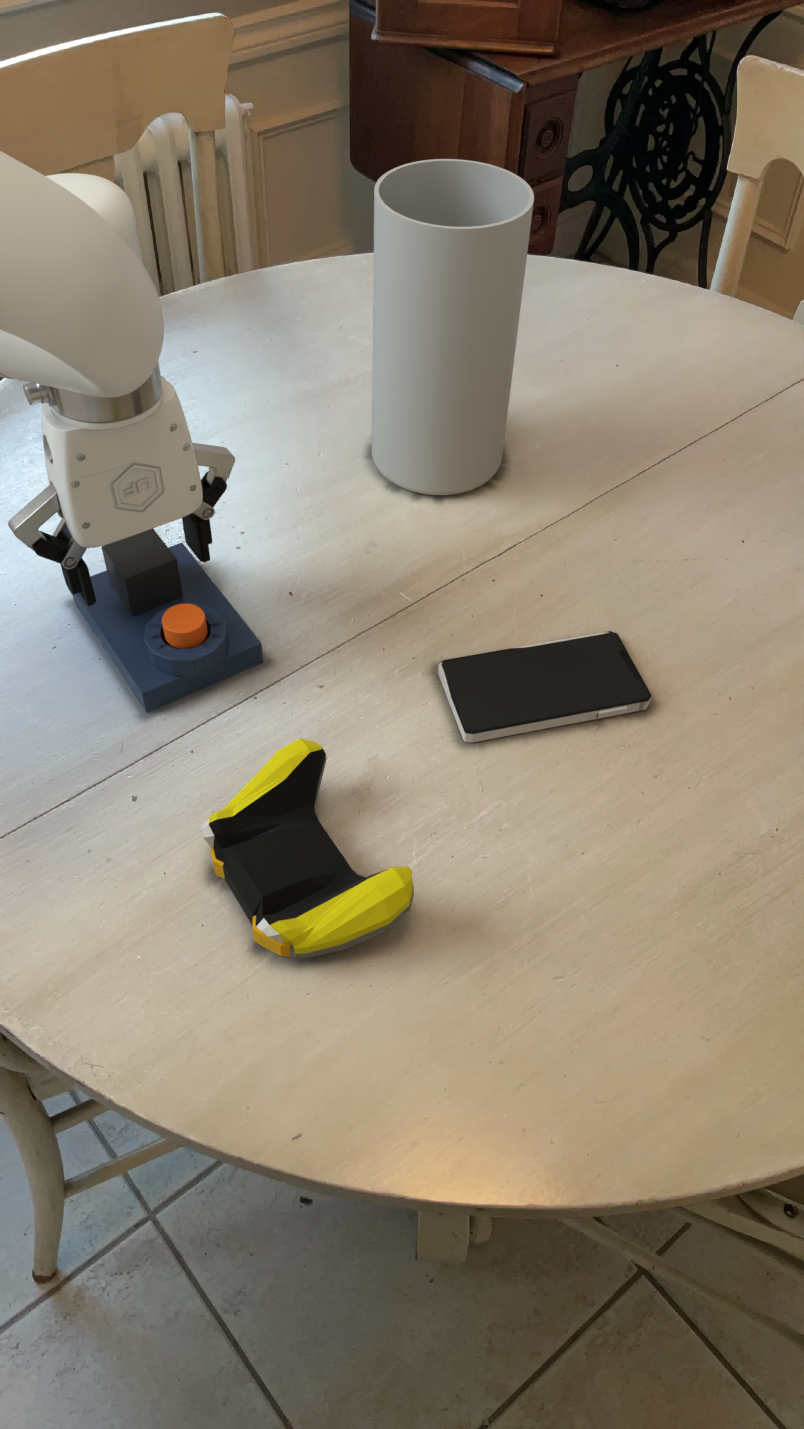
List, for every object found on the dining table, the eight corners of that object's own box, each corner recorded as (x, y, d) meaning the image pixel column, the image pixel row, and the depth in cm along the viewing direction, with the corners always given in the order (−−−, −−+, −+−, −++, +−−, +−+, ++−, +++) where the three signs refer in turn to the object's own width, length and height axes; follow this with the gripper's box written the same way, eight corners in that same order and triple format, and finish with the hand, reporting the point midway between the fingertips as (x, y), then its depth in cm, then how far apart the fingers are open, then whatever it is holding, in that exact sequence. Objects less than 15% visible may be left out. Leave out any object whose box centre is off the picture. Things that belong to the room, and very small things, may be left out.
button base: (266, 666, 83) (263, 630, 80) (149, 717, 79) (141, 681, 76) (185, 561, 90) (179, 525, 87) (74, 603, 87) (64, 567, 84)
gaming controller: (313, 770, 76) (186, 829, 73) (310, 721, 72) (175, 780, 68) (425, 928, 68) (288, 1003, 64) (429, 883, 64) (283, 961, 60)
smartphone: (436, 659, 82) (615, 628, 85) (436, 669, 83) (612, 638, 86) (466, 736, 77) (655, 700, 80) (465, 747, 78) (651, 711, 81)
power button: (214, 639, 79) (212, 622, 78) (176, 655, 78) (173, 638, 77) (196, 614, 81) (193, 597, 80) (157, 629, 80) (154, 612, 79)
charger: (132, 616, 83) (124, 578, 80) (110, 584, 85) (100, 546, 82) (185, 595, 84) (179, 557, 81) (162, 564, 87) (155, 526, 84)
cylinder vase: (528, 466, 101) (567, 200, 82) (429, 516, 95) (446, 244, 76) (442, 407, 107) (460, 146, 88) (345, 451, 102) (342, 183, 83)
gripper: (-4, 447, 65) (55, 642, 78) (245, 370, 72) (262, 562, 85) (-44, 389, 69) (19, 584, 82) (196, 321, 76) (219, 512, 88)
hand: (142, 573), depth 83 cm, fingers open, 9 cm apart
